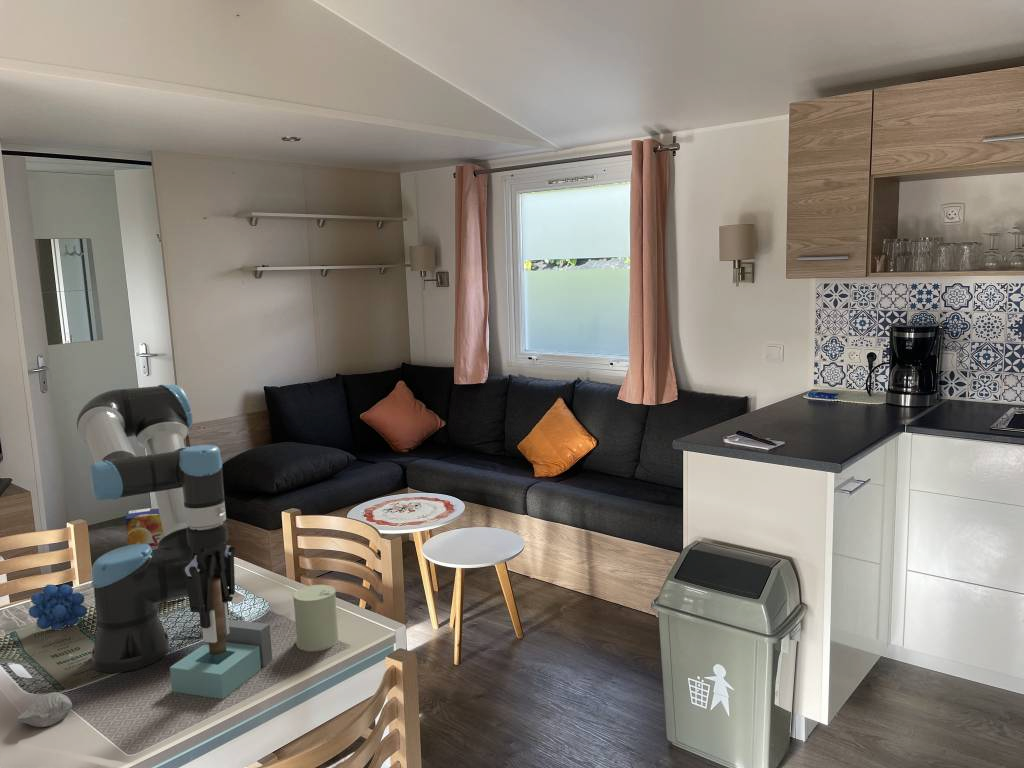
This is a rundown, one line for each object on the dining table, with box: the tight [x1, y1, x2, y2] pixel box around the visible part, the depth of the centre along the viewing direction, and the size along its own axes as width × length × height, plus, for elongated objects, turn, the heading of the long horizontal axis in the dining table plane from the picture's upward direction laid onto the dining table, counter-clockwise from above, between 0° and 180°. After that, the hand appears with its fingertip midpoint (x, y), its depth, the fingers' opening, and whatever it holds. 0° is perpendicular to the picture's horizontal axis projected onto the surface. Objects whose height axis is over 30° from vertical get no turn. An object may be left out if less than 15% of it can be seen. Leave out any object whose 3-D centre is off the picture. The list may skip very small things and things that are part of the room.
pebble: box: [16, 691, 73, 728], centre depth 144 cm, size 9×8×5 cm
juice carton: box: [125, 506, 164, 550], centre depth 196 cm, size 12×8×24 cm, turn 112°
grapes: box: [28, 584, 88, 630], centre depth 181 cm, size 12×7×12 cm, turn 126°
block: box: [169, 642, 262, 700], centre depth 157 cm, size 12×12×5 cm
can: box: [292, 584, 340, 652], centre depth 172 cm, size 9×9×12 cm
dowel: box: [209, 577, 226, 655], centre depth 156 cm, size 3×3×15 cm
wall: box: [225, 618, 273, 668], centre depth 165 cm, size 12×3×8 cm, turn 73°
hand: (216, 637), depth 157 cm, fingers closed on dowel, 3 cm apart
